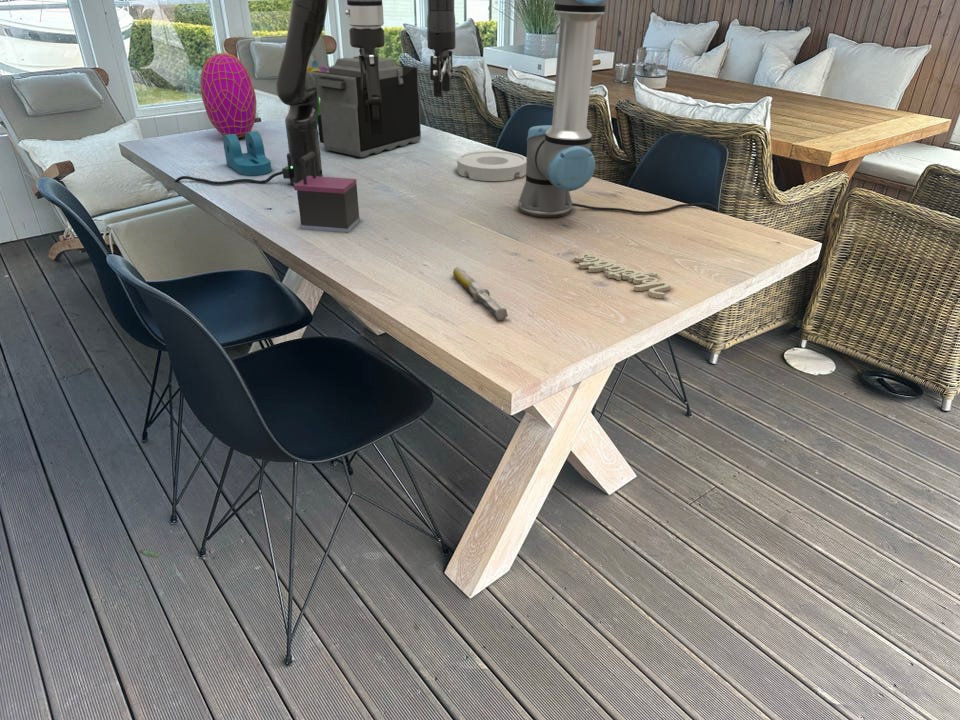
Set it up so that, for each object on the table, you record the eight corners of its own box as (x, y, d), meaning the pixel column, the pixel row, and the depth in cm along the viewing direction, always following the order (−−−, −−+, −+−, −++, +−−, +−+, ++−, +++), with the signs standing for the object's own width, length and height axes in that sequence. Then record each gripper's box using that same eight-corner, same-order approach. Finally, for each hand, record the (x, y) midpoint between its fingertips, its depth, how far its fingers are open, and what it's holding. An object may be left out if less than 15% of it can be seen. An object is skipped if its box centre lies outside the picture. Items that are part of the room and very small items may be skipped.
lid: (294, 190, 175) (290, 158, 171) (308, 180, 183) (305, 149, 179) (344, 193, 173) (341, 161, 169) (356, 183, 181) (354, 152, 176)
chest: (301, 228, 180) (296, 190, 175) (315, 217, 188) (310, 180, 183) (347, 232, 178) (344, 194, 173) (359, 220, 186) (356, 183, 181)
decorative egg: (226, 145, 255) (211, 58, 240) (200, 137, 266) (184, 53, 251) (271, 137, 268) (259, 54, 252) (244, 129, 279) (231, 49, 263)
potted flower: (313, 124, 288) (306, 60, 276) (308, 121, 294) (300, 58, 282) (334, 122, 292) (328, 59, 279) (329, 119, 298) (323, 57, 285)
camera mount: (227, 164, 233) (221, 132, 227) (257, 160, 238) (252, 129, 233) (244, 176, 220) (239, 143, 215) (276, 172, 225) (271, 139, 220)
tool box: (383, 133, 276) (378, 52, 261) (425, 141, 265) (422, 56, 250) (314, 150, 251) (304, 61, 235) (358, 160, 240) (350, 67, 224)
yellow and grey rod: (449, 274, 155) (449, 263, 153) (465, 272, 156) (464, 260, 154) (490, 323, 135) (491, 310, 133) (508, 319, 136) (508, 307, 134)
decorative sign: (686, 282, 150) (660, 295, 144) (686, 286, 150) (659, 300, 144) (592, 249, 166) (565, 259, 160) (592, 253, 167) (565, 263, 161)
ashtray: (459, 161, 239) (459, 150, 237) (525, 163, 239) (526, 151, 237) (455, 180, 219) (455, 167, 217) (527, 181, 219) (528, 169, 217)
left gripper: (434, 26, 189) (436, 89, 197) (419, 31, 177) (421, 97, 185) (461, 27, 188) (461, 90, 196) (448, 32, 176) (448, 99, 184)
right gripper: (344, 22, 159) (352, 117, 170) (354, 32, 138) (362, 140, 149) (376, 22, 161) (382, 116, 172) (391, 32, 140) (396, 138, 151)
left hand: (442, 93), depth 191 cm, fingers open, 8 cm apart
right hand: (373, 127), depth 160 cm, fingers open, 13 cm apart
